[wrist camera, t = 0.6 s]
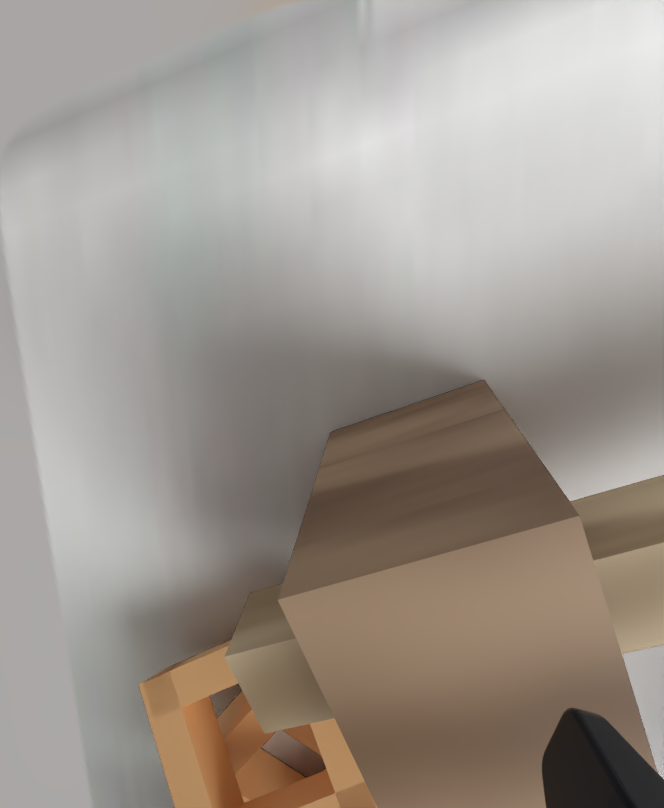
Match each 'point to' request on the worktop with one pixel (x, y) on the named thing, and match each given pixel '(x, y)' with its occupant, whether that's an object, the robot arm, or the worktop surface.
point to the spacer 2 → (257, 750)
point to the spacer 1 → (207, 754)
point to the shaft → (613, 558)
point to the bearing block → (451, 606)
